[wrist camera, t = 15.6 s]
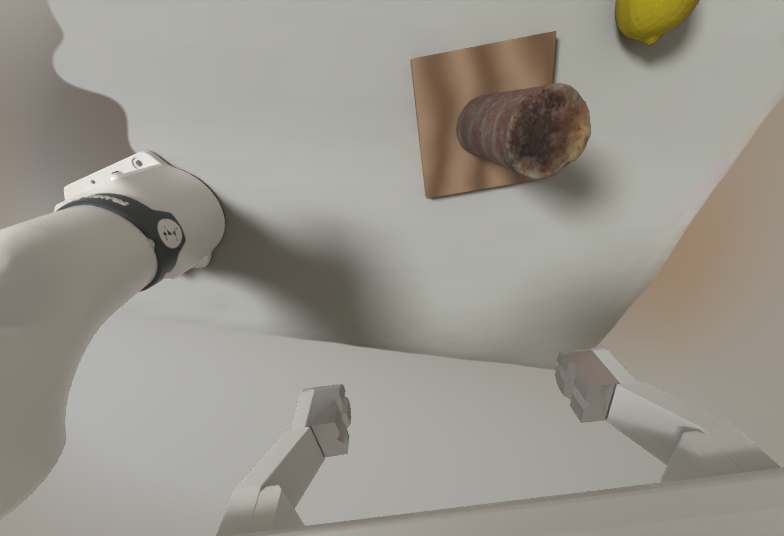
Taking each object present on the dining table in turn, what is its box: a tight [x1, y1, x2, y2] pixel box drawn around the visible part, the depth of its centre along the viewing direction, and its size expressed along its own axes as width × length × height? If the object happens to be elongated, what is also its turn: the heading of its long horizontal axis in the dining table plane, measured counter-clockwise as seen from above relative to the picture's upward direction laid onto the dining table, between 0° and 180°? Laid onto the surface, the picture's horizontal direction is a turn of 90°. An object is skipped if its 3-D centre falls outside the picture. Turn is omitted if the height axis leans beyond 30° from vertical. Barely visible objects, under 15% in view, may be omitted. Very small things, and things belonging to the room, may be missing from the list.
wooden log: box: [456, 83, 591, 179], centre depth 33 cm, size 8×7×20 cm
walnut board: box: [411, 31, 556, 198], centre depth 42 cm, size 18×18×2 cm
